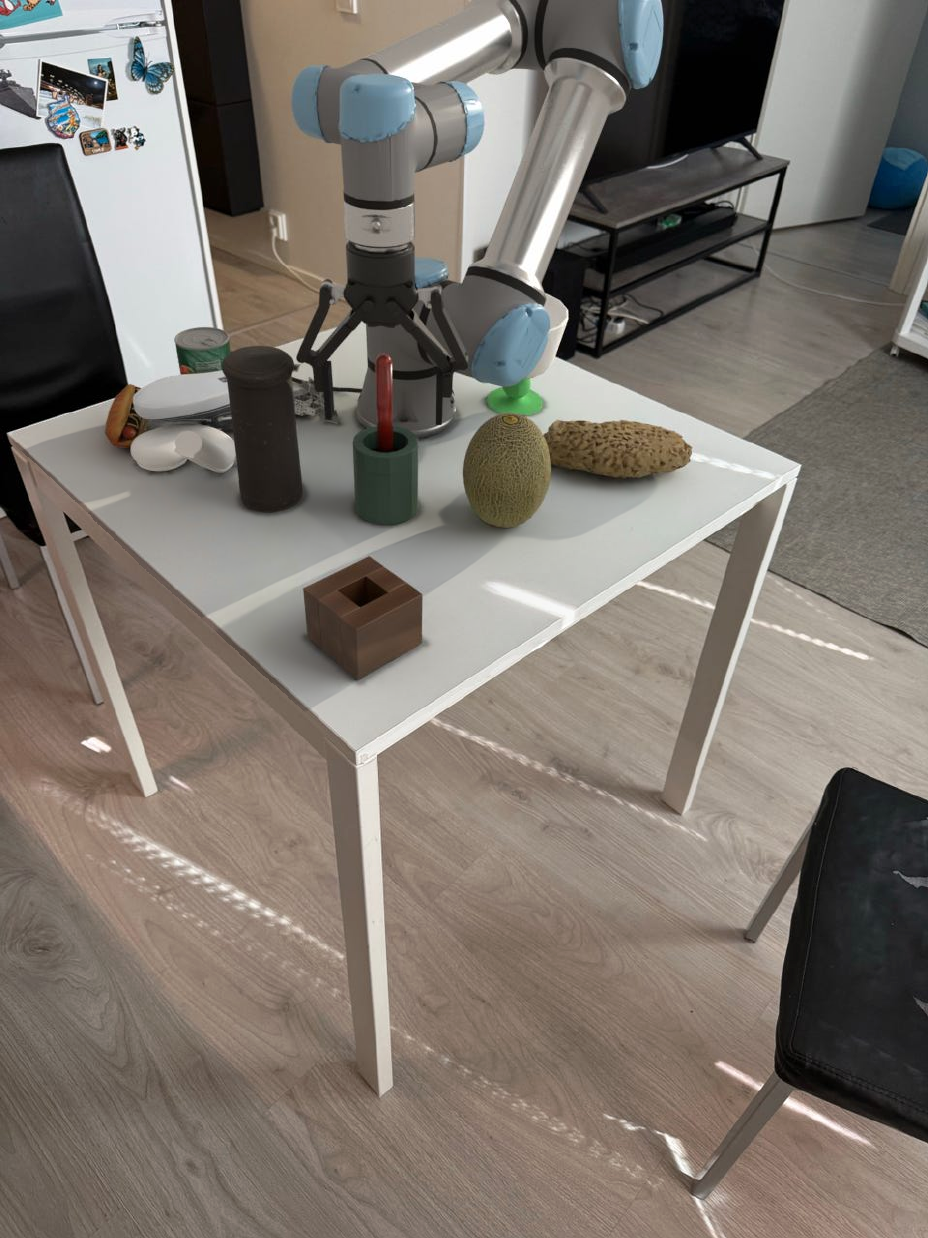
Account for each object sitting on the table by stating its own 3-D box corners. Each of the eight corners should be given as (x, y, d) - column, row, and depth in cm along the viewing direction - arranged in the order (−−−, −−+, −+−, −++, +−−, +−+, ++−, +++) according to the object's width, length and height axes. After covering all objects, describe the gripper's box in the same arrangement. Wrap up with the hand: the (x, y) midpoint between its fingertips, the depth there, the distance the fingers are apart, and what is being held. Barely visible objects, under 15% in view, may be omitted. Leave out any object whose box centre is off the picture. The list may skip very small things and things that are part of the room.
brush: (369, 503, 121) (364, 353, 107) (387, 495, 122) (385, 346, 109) (384, 513, 119) (381, 362, 105) (403, 505, 121) (402, 355, 107)
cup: (563, 387, 149) (576, 296, 138) (548, 433, 140) (560, 340, 129) (483, 373, 151) (488, 282, 140) (462, 418, 142) (466, 325, 131)
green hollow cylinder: (343, 505, 121) (339, 438, 114) (390, 484, 125) (389, 419, 119) (382, 532, 116) (381, 464, 110) (430, 509, 121) (431, 443, 114)
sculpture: (176, 430, 134) (166, 380, 129) (258, 457, 129) (252, 406, 124) (117, 466, 126) (104, 414, 120) (202, 496, 121) (193, 443, 116)
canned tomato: (175, 404, 140) (163, 336, 133) (217, 389, 145) (207, 322, 138) (206, 422, 136) (195, 352, 129) (248, 405, 141) (240, 337, 134)
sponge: (536, 480, 130) (673, 492, 121) (534, 426, 127) (675, 434, 118) (569, 456, 140) (697, 465, 132) (568, 405, 137) (700, 411, 128)
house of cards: (333, 347, 138) (369, 373, 136) (326, 395, 145) (360, 420, 142) (290, 364, 133) (326, 391, 130) (284, 413, 139) (318, 439, 137)
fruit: (447, 505, 122) (450, 403, 112) (521, 489, 126) (530, 389, 116) (483, 551, 114) (490, 446, 104) (560, 533, 118) (574, 430, 108)
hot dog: (132, 417, 138) (157, 400, 137) (121, 463, 129) (149, 445, 127) (108, 393, 135) (134, 375, 134) (95, 437, 125) (123, 418, 124)
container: (316, 486, 124) (305, 346, 111) (285, 520, 118) (270, 376, 105) (260, 473, 126) (243, 334, 113) (226, 506, 119) (204, 362, 107)
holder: (307, 637, 100) (302, 588, 96) (370, 604, 105) (369, 555, 101) (358, 680, 95) (355, 630, 91) (422, 643, 100) (422, 593, 96)
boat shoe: (120, 384, 124) (126, 438, 129) (155, 410, 120) (159, 464, 125) (267, 351, 139) (267, 400, 144) (302, 373, 135) (300, 423, 140)
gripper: (258, 247, 96) (278, 427, 109) (494, 258, 96) (484, 436, 109) (272, 224, 101) (289, 398, 115) (494, 234, 101) (485, 407, 115)
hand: (384, 417), depth 112 cm, fingers open, 13 cm apart
